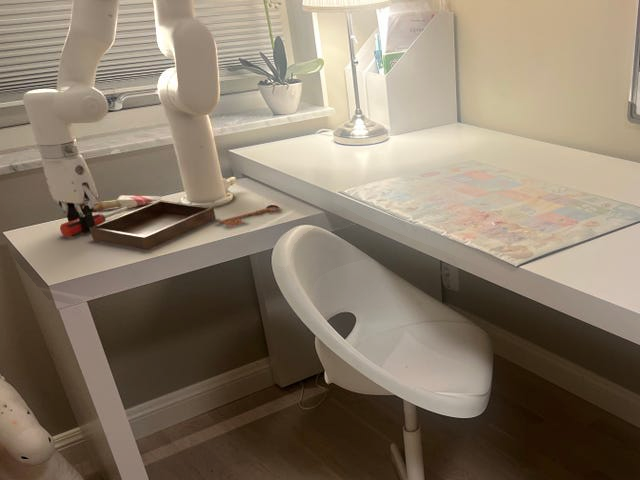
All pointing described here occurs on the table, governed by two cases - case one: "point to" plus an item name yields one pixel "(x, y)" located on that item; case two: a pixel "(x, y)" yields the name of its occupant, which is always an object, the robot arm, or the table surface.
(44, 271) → the table surface
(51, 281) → the table surface
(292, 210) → the table surface
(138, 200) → the paintbrush
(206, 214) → the wooden tray
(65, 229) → the screwdriver
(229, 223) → the key
